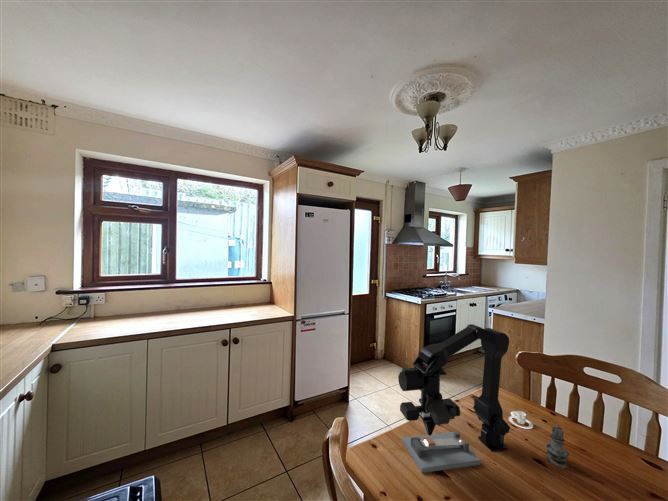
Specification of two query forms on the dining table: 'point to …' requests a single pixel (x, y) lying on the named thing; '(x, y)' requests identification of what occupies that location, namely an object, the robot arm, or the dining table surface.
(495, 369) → the robot arm
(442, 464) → the base plate
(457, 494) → the dining table surface
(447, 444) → the light grey long bar
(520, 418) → the teacup and saucer
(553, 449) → the grey tiered tower figurine
